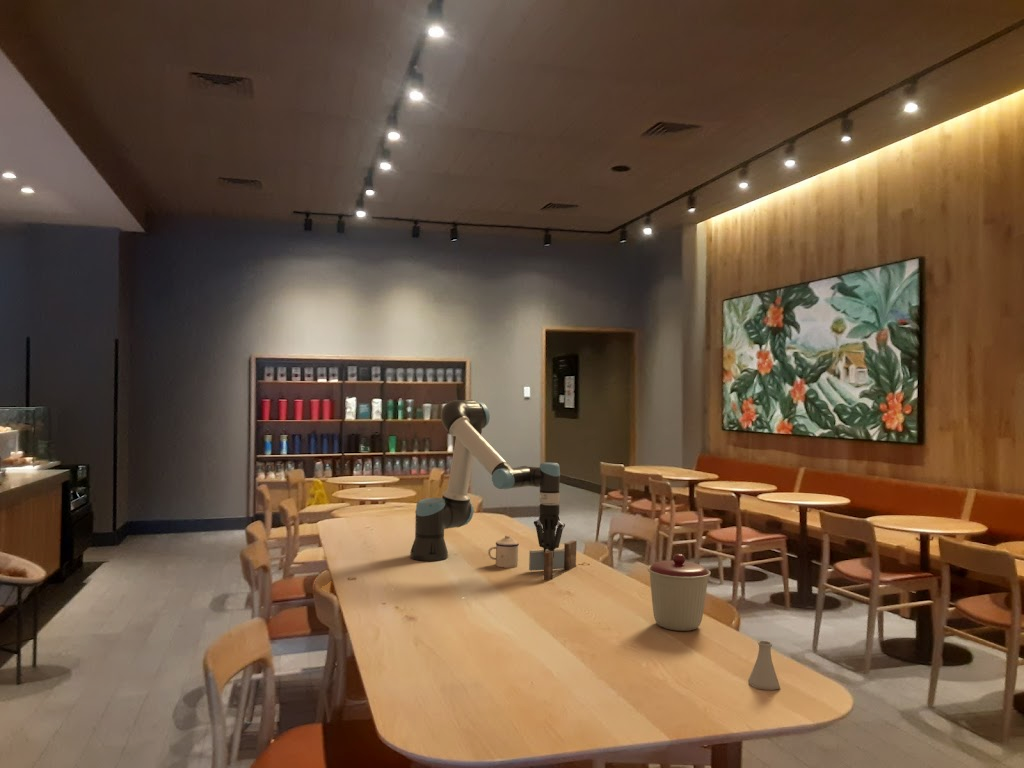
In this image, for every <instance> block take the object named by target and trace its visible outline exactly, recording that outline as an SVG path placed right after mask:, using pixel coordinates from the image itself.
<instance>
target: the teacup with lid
mask: <svg viewBox="0 0 1024 768" xmlns="http://www.w3.org/2000/svg"><path fill="white" fill-rule="evenodd" d="M519 545H520V543H519V541H517V540H515V539H513V538H511V536H510V535H508V534H507V535H504V537H502V538H501V539H500V540H496V542H495V546H491V547H489V549H488V551H487V554H488V556H489V559H491V560H493V561H495V566H497V567H499V568H503V567H504V568H506V569H510V568H515V567H517V566H518V565H519V563H518V562H519V558H518V557H519ZM492 550H495V557H493V556H492V555H491V551H492Z"/></svg>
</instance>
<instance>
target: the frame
mask: <svg viewBox="0 0 1024 768" xmlns="http://www.w3.org/2000/svg"><path fill="white" fill-rule="evenodd" d="M563 549H565V552H564V569H560V570H559V571H558V572H555V573H553V571H554V569H553V551H547V552H544V570H543V577H542V578H543V581H551V580H553V579H555V578H557V577H559V576H561V575H563V574H565V573H566V572H569V571H570V570H572V569H573V568H576V567H577V540H569V541H567V542H564V547H563ZM564 572H565V573H564ZM562 573H563V574H562Z"/></svg>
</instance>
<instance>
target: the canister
mask: <svg viewBox="0 0 1024 768" xmlns="http://www.w3.org/2000/svg"><path fill="white" fill-rule="evenodd" d="M647 571H648V572H649V580H650V593H651V594H650V595H651V604H652V613H653V618H654V621H655V623H656V624H657V625H658V626H659V627H661V628H663V629H667V630H671V631H679V632H681V631H682V632H687V631H689V632H690V631H692V630H696V629H698V628H699V627H700V626H701V624H702V621H703V617H704V616H703V615H704V609H705V604H706V596H707V589H708V580H709V577H710V576H711V571H710V570H709V569H707V568H706V567H705V566H704V565H701V564H699V563H694V562H691V561H686V557H685V555H684V554H682V553H675V554H674V555H673V557H672V560H660V561H657V562H653V563H652V564H651V565H649V566H648V567H647Z"/></svg>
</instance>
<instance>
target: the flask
mask: <svg viewBox="0 0 1024 768" xmlns="http://www.w3.org/2000/svg"><path fill="white" fill-rule="evenodd" d="M757 644H758V645H757V646H758V652H757V657H756V659H755V662H754V665H753V668H752V670H751V673H750V674H749V677H748V679H747V681H748V685H750V686H752V687H754V688H755V689H758V690H765V691H773V690H778V689H779V690H780V689H781V686H780V683H779V680H778V677H777V673H776V670H775V667H774V663H773V658H772V652H771V651H772V647H773V643H772V642H771V641H769V640H764V639H763V640H758V641H757Z"/></svg>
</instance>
